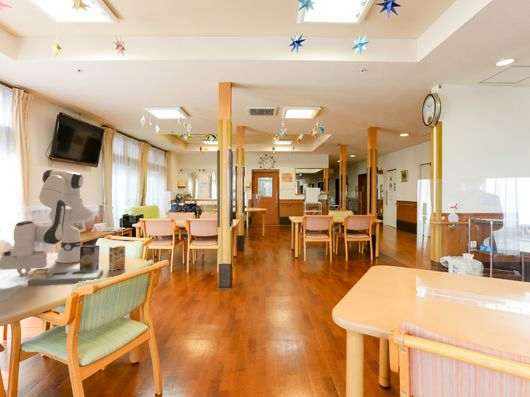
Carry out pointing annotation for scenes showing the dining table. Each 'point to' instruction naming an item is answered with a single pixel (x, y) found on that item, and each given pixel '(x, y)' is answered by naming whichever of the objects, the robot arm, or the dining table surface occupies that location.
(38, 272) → the maple block
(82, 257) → the coffee box
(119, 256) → the candy box
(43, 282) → the trap board
